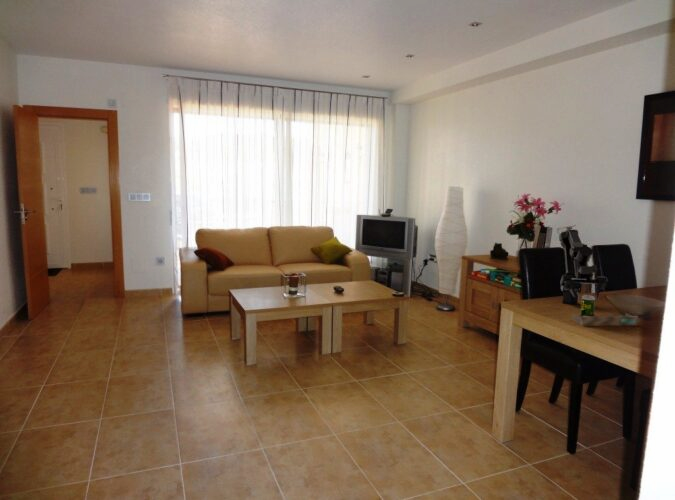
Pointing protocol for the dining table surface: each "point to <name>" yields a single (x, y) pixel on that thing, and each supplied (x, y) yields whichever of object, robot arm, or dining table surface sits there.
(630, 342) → the dining table surface
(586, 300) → the beer can
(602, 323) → the can rack
